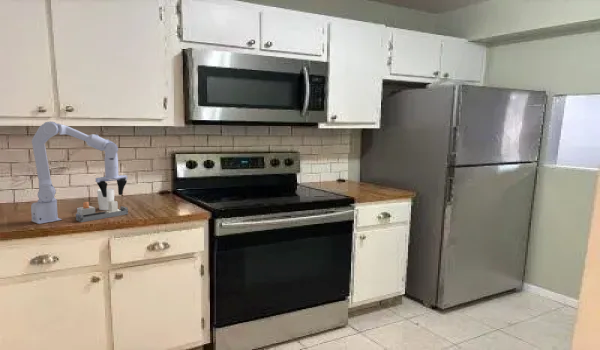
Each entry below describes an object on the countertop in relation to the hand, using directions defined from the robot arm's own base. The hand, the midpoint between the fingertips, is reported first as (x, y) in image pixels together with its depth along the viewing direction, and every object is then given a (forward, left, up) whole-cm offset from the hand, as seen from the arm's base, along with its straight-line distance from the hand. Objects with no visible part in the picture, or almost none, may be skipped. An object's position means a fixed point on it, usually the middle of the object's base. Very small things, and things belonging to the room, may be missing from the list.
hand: (112, 195), depth 191 cm
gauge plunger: (-9, +8, -7) cm, 14 cm away
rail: (-5, 0, -9) cm, 11 cm away
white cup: (+5, +16, -10) cm, 19 cm away
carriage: (0, 0, -8) cm, 8 cm away
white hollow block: (-9, +8, -9) cm, 15 cm away
